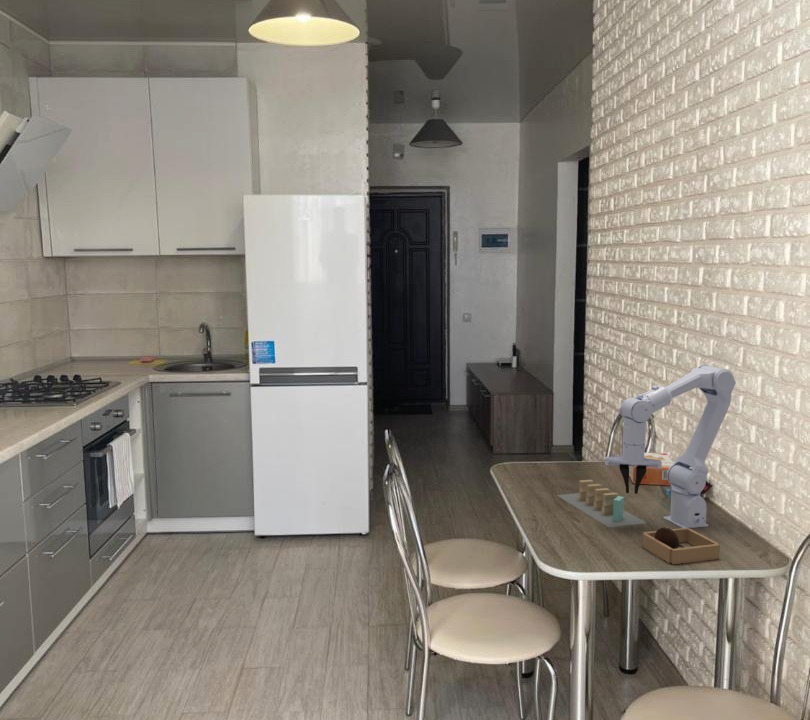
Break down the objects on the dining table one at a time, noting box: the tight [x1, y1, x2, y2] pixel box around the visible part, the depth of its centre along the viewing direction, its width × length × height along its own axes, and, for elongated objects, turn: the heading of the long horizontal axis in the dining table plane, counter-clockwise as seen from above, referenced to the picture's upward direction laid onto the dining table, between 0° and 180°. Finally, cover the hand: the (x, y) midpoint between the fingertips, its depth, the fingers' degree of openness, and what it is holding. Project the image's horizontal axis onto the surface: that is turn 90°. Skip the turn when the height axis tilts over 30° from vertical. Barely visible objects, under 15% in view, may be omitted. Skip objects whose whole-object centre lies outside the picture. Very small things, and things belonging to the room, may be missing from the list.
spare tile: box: [613, 495, 625, 522], centre depth 219 cm, size 2×4×6 cm, turn 147°
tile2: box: [602, 492, 619, 516], centre depth 223 cm, size 2×4×6 cm, turn 107°
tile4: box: [586, 483, 602, 506], centre depth 232 cm, size 2×4×6 cm, turn 107°
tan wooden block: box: [594, 487, 611, 511], centre depth 228 cm, size 2×4×6 cm, turn 107°
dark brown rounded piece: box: [655, 526, 686, 549], centre depth 197 cm, size 8×8×7 cm
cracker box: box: [629, 452, 674, 486], centre depth 264 cm, size 14×6×21 cm
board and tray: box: [556, 492, 721, 565], centre depth 217 cm, size 56×15×4 cm, turn 17°
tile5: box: [577, 479, 594, 502], centre depth 236 cm, size 2×4×6 cm, turn 107°
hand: (631, 492), depth 213 cm, fingers closed
